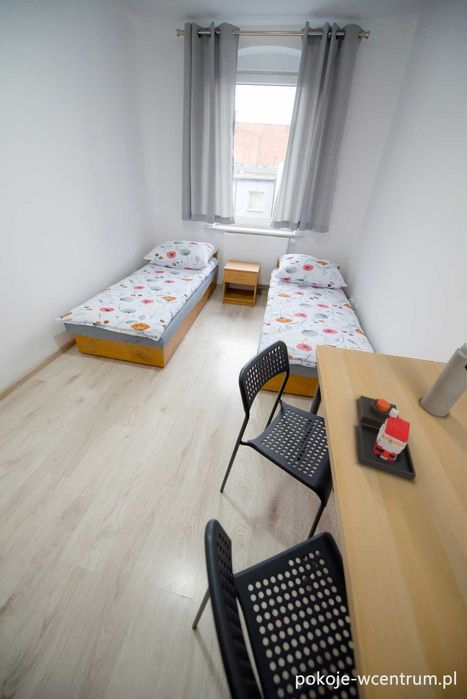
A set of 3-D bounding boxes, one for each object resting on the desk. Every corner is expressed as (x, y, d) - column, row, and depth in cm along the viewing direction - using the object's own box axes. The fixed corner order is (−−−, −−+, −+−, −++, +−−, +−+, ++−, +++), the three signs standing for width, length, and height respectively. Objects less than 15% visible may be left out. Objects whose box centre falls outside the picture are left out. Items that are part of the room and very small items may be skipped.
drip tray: (402, 441, 81) (406, 436, 80) (411, 480, 71) (416, 475, 69) (356, 427, 84) (359, 422, 82) (359, 463, 73) (362, 458, 72)
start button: (387, 405, 87) (389, 401, 86) (388, 413, 84) (391, 409, 83) (375, 401, 88) (377, 397, 87) (376, 409, 85) (378, 405, 84)
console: (392, 410, 91) (398, 401, 89) (397, 433, 83) (404, 423, 81) (358, 401, 94) (362, 391, 91) (359, 422, 86) (365, 412, 83)
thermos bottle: (446, 406, 96) (498, 338, 80) (446, 420, 90) (503, 350, 75) (421, 396, 99) (466, 329, 84) (420, 408, 94) (468, 339, 78)
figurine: (398, 468, 72) (420, 439, 65) (370, 454, 75) (388, 425, 68) (401, 446, 78) (422, 417, 72) (375, 434, 81) (393, 405, 74)
